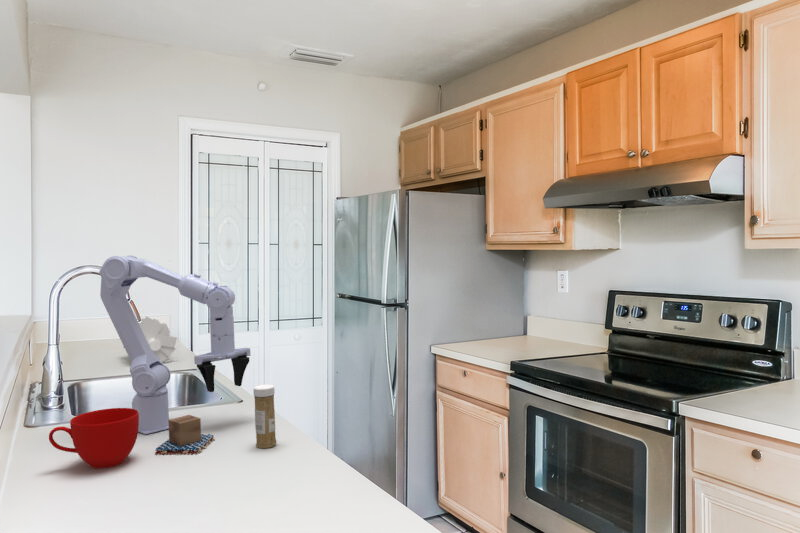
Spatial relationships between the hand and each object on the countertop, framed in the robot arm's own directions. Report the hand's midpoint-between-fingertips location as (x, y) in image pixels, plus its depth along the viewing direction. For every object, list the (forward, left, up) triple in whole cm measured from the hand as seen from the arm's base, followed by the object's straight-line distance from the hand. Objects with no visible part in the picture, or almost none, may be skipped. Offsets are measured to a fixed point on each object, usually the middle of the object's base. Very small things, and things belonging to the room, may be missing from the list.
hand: (224, 388), depth 151 cm
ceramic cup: (+3, -32, -10) cm, 34 cm away
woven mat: (+7, -15, -10) cm, 19 cm away
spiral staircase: (-108, +29, -10) cm, 112 cm away
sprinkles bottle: (+21, -3, -10) cm, 24 cm away
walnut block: (+7, -15, -8) cm, 18 cm away
